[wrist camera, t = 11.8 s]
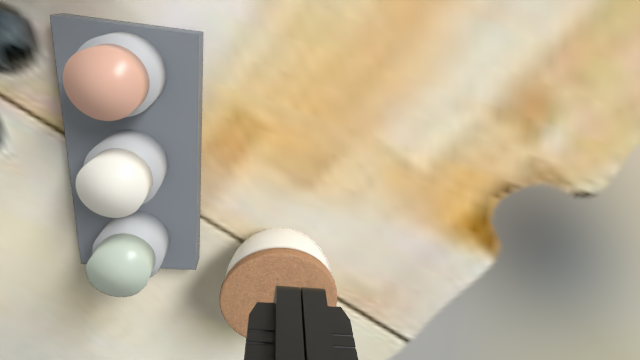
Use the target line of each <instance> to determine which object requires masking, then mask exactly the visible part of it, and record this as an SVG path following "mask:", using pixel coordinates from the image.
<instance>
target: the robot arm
mask: <svg viewBox="0 0 640 360" xmlns="http://www.w3.org/2000/svg"><path fill="white" fill-rule="evenodd" d="M244 360H358V357H357V352H356V349H355V342H354V337H353V332H352V327H351V322H350V319H349V318H348V317H347V315H346V314H345V312H344V311H343V310H342V308H341V307H332V306H328V304H327V297H326V291H325V289H321V288H307V287H301V289H300V287H291V286H277V285H276V288H275V294H274V301H273V303H267V302H257V303H256V305H255V306H254V308H253V309H252V311H251V312H250V313H249V319H248V328H247V337H246V346H245V355H244Z"/></svg>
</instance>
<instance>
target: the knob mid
mask: <svg viewBox="0 0 640 360" xmlns="http://www.w3.org/2000/svg"><path fill="white" fill-rule="evenodd" d="M75 184H76V191H77V194H78V196H79V198H80V200H81V201H82V202H83V203H84V205H85V206H87V207H88V208H89V209H90V210H92V211H93V212H95V213H97V214H99V215H102V216H105V217H111V218H121V217H126V216H128V215H131V214H133V213H134V212H136V211H137V210H138V209H139V207H140V206H141V205H142V203H143V202H144V200H145V198H146V197H147V195H148V194H149V192H150V190H151V188H152V185H153V175H152V172H151V169H150V167H149V165H148V164H147V163H146V161H145V160H144V159H143V158H141V157H140V156H139V155H137V154H136V153H134V152H132V151H129V150H126V149H122V148H110V149H106V150H103V151H101V152H99V153H98V154H97V155H95V156H94V157H93V158H92V159H91V160H90V161H89V162H88V163H87V164H86V165H85V166H84V167H83V168H82V169H81V170H80V171H79V173H78V175H77V177H76V183H75Z"/></svg>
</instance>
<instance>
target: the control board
mask: <svg viewBox="0 0 640 360" xmlns="http://www.w3.org/2000/svg"><path fill="white" fill-rule="evenodd" d="M50 20H51V28H52V36H53V44H54V52H55V60H56V68H57V76H58V83H59V91H60V99H61V107H62V115H63V123H64V131H65V139H66V147H67V155H68V163H69V171H70V179H71V187H72V195H73V203H74V210H75V218H76V226H77V234H78V242H79V250H80V258H81V264H87V263H88V261H89V259H90V258H91V256H92V255H93V253H94V252H95V251H96V249H97V248H98V246H99V245H100V243H101V242H102V241H103V240H104V239H105V238H107V237H109V236H111V235H114V234H120V233H126V234H132V235H135V236H138V237H140V238H142V239H143V240H145V241H146V242H147V243H148V244H149V245H150V246H151V247H152V249H153V250H154V253H155V256H156V262H155V266H154V268H153V270H152V273H151V275H150V277H152V276H153V275H154V274H156V272H157V271H158V270H159V268H170V269H188V270H196V268H197V264H198V261H199V246H200V190H201V134H202V77H203V32H200V31H192V30H185V29H177V28H169V27H162V26H154V25H147V24H139V23H131V22H124V21H116V20H108V19H101V18H93V17H85V16H78V15H70V14H63V13H62V14H55V15H50ZM107 43H108V44H116V45H119V46H122V47H125V48H127V49H128V50H130V51H131V52H133V53H134V54H135V55H136V56H137V57H138V58H139V59H140V60H141V61H142V63H143V64H144V66H145V68H146V70H147V72H148V75H149V81H150V87H149V92H148V95H147V97H146V99H145V100H144V102H143V103H142V104H141V105H140V106H138V107H137V108H136V109H135V110H134V111H133V112H131V113H130V114H129V115H128V116H126V117H124V118H122V119H119V120H115V121H103V120H98V119H94V118H92V117H90V116H88V115H86V114H84V113H83V112H81V111H80V110H79V109H78V108H77V107H76V106H75V105H74V104H73V103H72V102H71V101H70V99H69V97H68V96H67V94H66V92H65V89H64V85H63V70H64V67H65V65H66V63H67V61H68V60H69V58H70V57H71V56H72V55H74V54H75V53H77V52H79V51H81V50H84V49H87V48H90V47H93V46H96V45H99V44H107ZM110 148H122V149H126V150H129V151H132V152H134V153H136V154H137V155H139V156H140V157H141V158H143V159H144V160H145V161H146V163H147V164H148V165H149V167H150V169H151V172H152V175H153V185H152V188H151V190H150V192H149V194H148V195H147V197H146V198H145V200H144V202H143V203H142V205H141V206H140V207H139V209H138V210H137V211H136V212H134V213H133V214H131V215H128V216H126V217H121V218H111V217H105V216H102V215H99V214H97V213H95V212H93V211H92V210H90V209H89V208H88V207H87V206H85V205H84V203H83V202H82V201H81V200H80V198H79V196H78V194H77V191H76V184H75V183H76V177H77V175H78V173H79V171H80V170H81V169H82V168H83V167H84V166H85V165H86V164H87V163H88V162H89V161H90V160H91V159H92V158H93V157H94V156H95V155H97V154H98V153H99V152H101V151H103V150H106V149H110ZM150 277H149V278H150Z"/></svg>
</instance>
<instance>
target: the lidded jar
mask: <svg viewBox="0 0 640 360" xmlns="http://www.w3.org/2000/svg"><path fill="white" fill-rule="evenodd" d="M276 285H277V286H291V287H300V289H301V287H307V288H321V289H325V291H326V297H327V304H328V306H332V307H336V303H337V290H336V286H335V282H334V279H333V276H332V272H331V269H330V265H329V263H328V260H327V258H326V256H325V254H324V253H323V251H322V250H321V248H320V247H319V246H318V244H317V243H316V242H314V241H313V240H312V239H311V238H310V237H309V236H307V235H306V234H304V233H302V232H300V231H297V230H294V229H290V228H270V229H266V230H262V231H260V232H257V233H255V234H254V235H252V236H250V237H249V238H248V239H247V240H245V241H244V242H243V243H242V244H241V245H240V246H239V248H238V249H237V250H236V252H235V254H234V255H233V257H232V258H231V261H230V263H229V265H228V268H227V270H226V274H225V278H224V281H223V284H222V287H221V292H220V308H221V312H222V314H223V316H224V318H225V320H226V321H227V323H228V324H229V325H230V326H231V327H232V328H233V329H234V330H235V331H236V332H237V333H239V334H240V335H242V336H244V337H245V338H246V337H247V328H248V319H249V313H250V312H251V311H252V309H253V308H254V306H255V305H256V303H257V302H267V303H273V301H274V294H275V288H276Z"/></svg>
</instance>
